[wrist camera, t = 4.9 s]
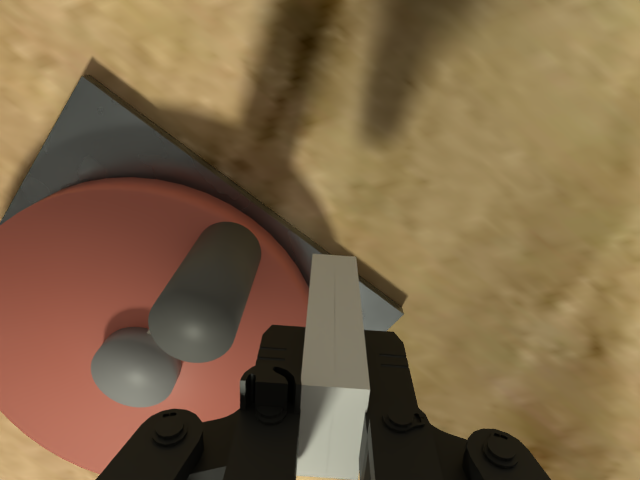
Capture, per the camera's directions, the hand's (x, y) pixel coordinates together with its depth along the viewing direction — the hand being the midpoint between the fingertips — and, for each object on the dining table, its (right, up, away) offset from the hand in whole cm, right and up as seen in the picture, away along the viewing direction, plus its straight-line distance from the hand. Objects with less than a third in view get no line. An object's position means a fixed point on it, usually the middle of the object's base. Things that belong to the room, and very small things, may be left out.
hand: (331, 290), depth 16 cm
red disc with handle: (-8, -3, +7) cm, 11 cm away
